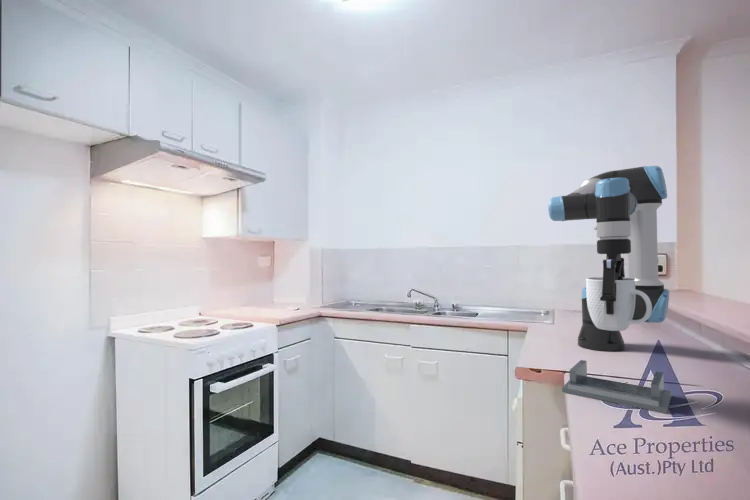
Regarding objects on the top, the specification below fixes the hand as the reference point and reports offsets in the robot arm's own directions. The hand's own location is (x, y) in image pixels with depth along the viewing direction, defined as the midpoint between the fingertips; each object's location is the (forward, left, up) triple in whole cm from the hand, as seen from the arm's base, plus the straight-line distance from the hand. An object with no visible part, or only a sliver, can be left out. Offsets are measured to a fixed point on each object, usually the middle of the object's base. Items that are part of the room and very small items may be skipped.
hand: (615, 323), depth 101 cm
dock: (+2, 0, -18) cm, 18 cm away
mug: (0, 0, -2) cm, 2 cm away
